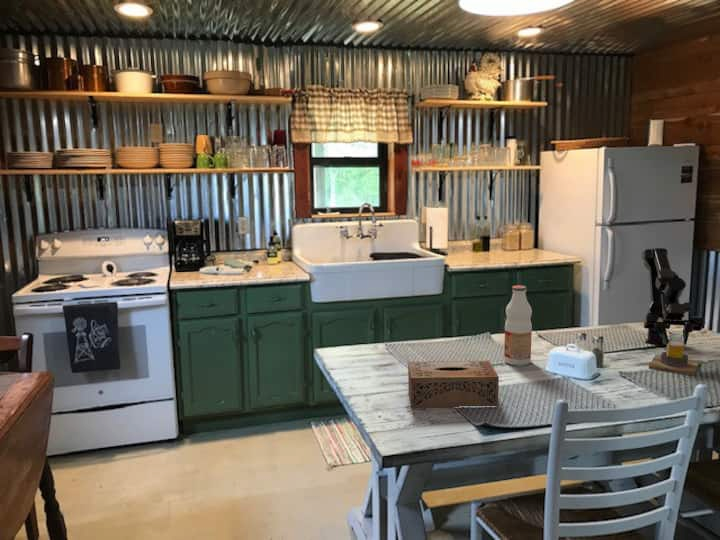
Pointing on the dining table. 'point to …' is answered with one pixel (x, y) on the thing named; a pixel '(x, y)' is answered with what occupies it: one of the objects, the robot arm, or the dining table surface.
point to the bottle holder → (674, 364)
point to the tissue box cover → (452, 384)
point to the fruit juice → (518, 329)
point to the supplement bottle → (675, 346)
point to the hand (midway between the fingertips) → (676, 344)
